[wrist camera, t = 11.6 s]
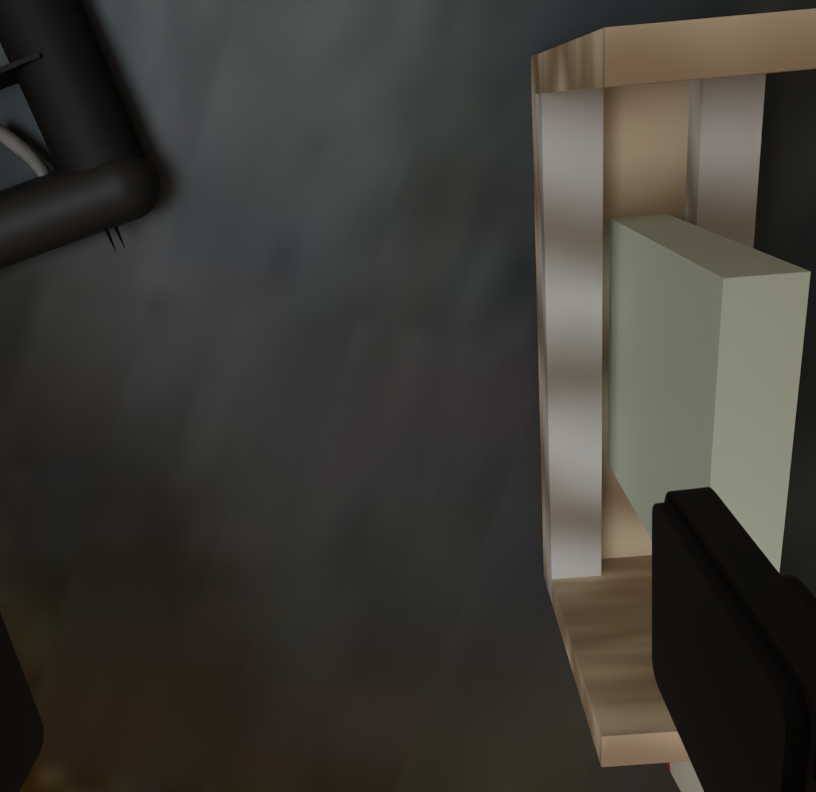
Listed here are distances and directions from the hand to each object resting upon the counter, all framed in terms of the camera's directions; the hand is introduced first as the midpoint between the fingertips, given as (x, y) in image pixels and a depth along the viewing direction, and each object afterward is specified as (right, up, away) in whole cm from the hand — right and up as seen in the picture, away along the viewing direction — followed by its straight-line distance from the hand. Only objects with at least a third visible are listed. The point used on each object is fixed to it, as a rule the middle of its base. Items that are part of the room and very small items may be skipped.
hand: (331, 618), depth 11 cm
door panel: (+12, +5, +26) cm, 29 cm away
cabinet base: (+12, +6, +27) cm, 30 cm away
